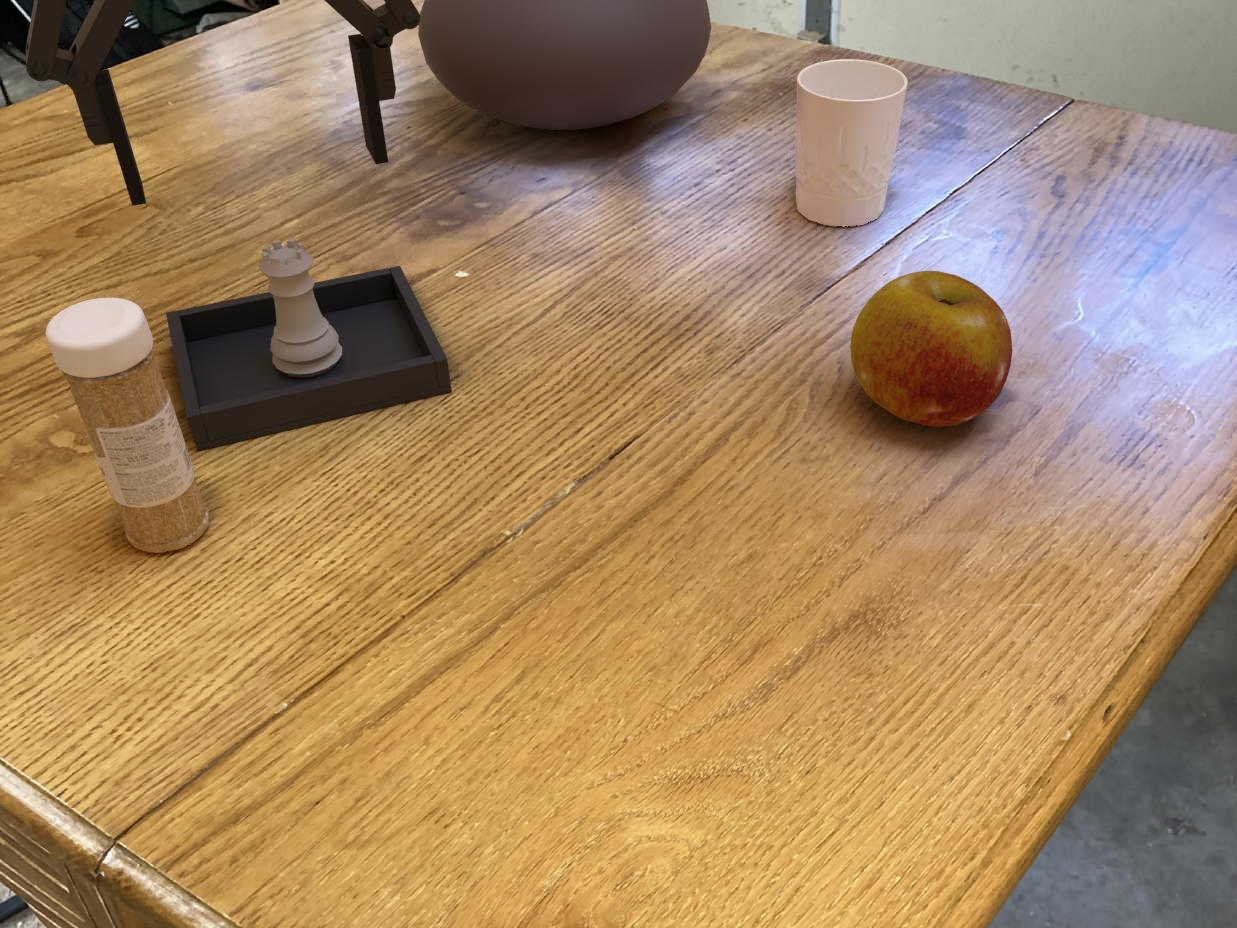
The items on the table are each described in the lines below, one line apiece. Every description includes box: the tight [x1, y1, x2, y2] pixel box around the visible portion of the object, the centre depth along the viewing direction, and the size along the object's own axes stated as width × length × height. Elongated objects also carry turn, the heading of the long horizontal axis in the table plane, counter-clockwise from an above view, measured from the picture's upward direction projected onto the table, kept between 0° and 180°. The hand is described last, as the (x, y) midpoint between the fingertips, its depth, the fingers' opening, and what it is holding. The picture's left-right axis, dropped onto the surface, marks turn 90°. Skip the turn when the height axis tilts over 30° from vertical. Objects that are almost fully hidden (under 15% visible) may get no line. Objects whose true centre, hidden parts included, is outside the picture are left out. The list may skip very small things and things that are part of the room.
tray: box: [165, 265, 453, 452], centre depth 78 cm, size 16×13×2 cm
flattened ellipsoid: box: [417, 0, 712, 131], centre depth 104 cm, size 25×25×15 cm
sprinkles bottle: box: [45, 297, 211, 554], centre depth 62 cm, size 5×5×13 cm
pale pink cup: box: [794, 58, 909, 228], centre depth 90 cm, size 8×8×10 cm
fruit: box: [849, 270, 1013, 428], centre depth 71 cm, size 10×9×8 cm
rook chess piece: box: [258, 238, 342, 378], centre depth 75 cm, size 4×4×8 cm
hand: (260, 174), depth 70 cm, fingers open, 13 cm apart
